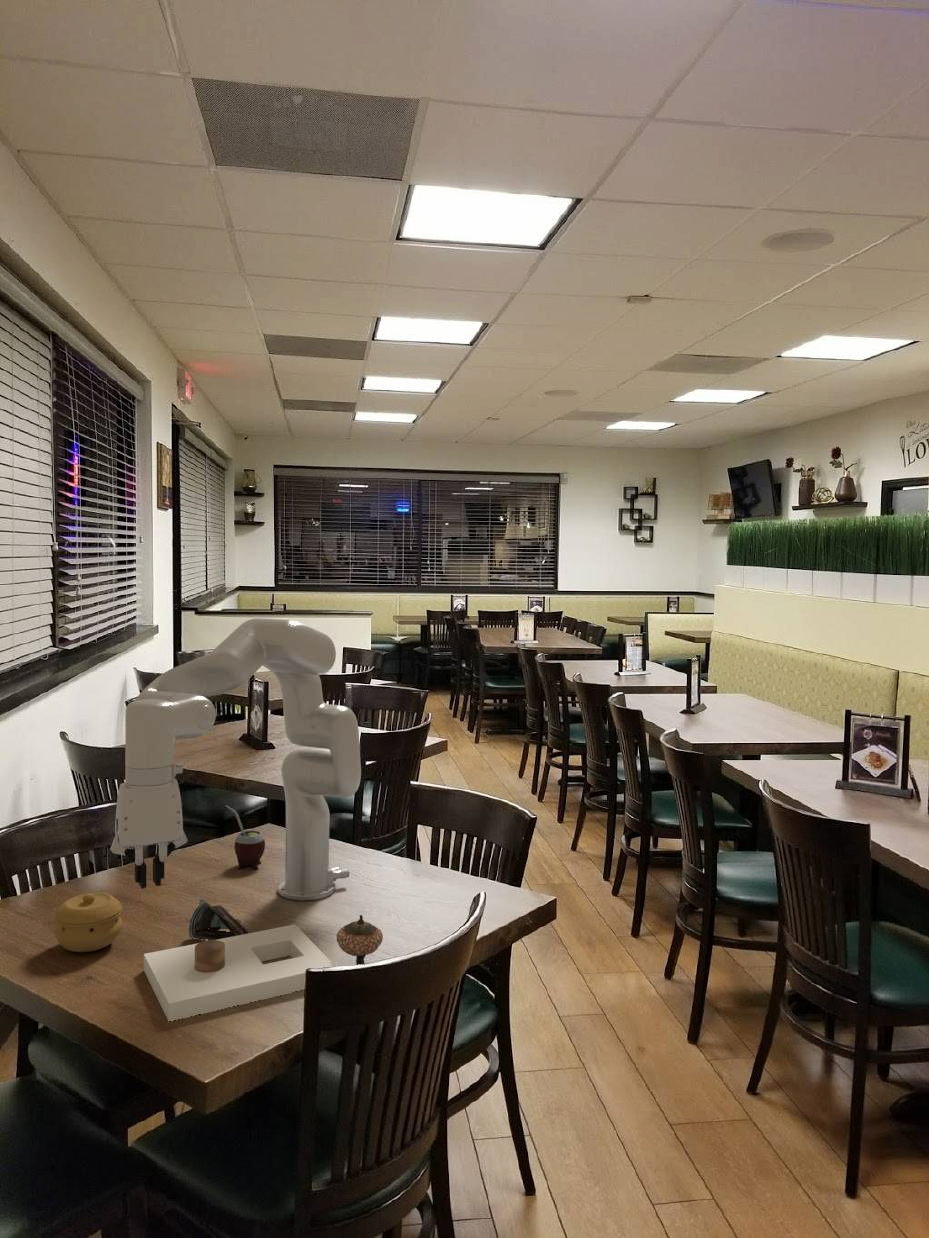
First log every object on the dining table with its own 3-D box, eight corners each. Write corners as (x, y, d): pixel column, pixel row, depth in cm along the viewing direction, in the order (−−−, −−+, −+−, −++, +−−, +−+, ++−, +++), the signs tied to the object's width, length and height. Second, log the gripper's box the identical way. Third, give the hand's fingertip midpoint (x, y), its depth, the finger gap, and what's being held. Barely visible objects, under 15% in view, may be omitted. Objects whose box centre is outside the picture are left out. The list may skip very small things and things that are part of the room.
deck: (295, 939, 171) (295, 924, 170) (334, 982, 153) (334, 965, 153) (143, 970, 156) (143, 953, 156) (168, 1022, 139) (168, 1003, 139)
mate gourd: (270, 866, 211) (271, 804, 210) (242, 874, 205) (243, 811, 204) (252, 859, 216) (252, 798, 215) (224, 866, 210) (224, 804, 209)
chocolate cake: (264, 936, 173) (233, 885, 177) (246, 939, 167) (215, 886, 171) (228, 966, 174) (198, 914, 178) (209, 971, 167) (178, 917, 171)
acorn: (327, 973, 157) (328, 918, 156) (351, 954, 164) (352, 902, 164) (367, 983, 154) (368, 927, 153) (390, 963, 161) (391, 910, 161)
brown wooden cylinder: (220, 957, 156) (220, 937, 155) (228, 968, 151) (228, 948, 151) (191, 963, 153) (191, 943, 153) (198, 975, 149) (198, 954, 148)
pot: (73, 932, 172) (72, 881, 171) (132, 934, 171) (132, 883, 171) (42, 958, 160) (42, 905, 159) (106, 961, 160) (106, 907, 159)
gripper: (192, 765, 152) (192, 870, 153) (94, 775, 144) (95, 885, 145) (204, 775, 146) (203, 884, 147) (102, 785, 138) (102, 900, 139)
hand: (149, 883), depth 146 cm, fingers closed
